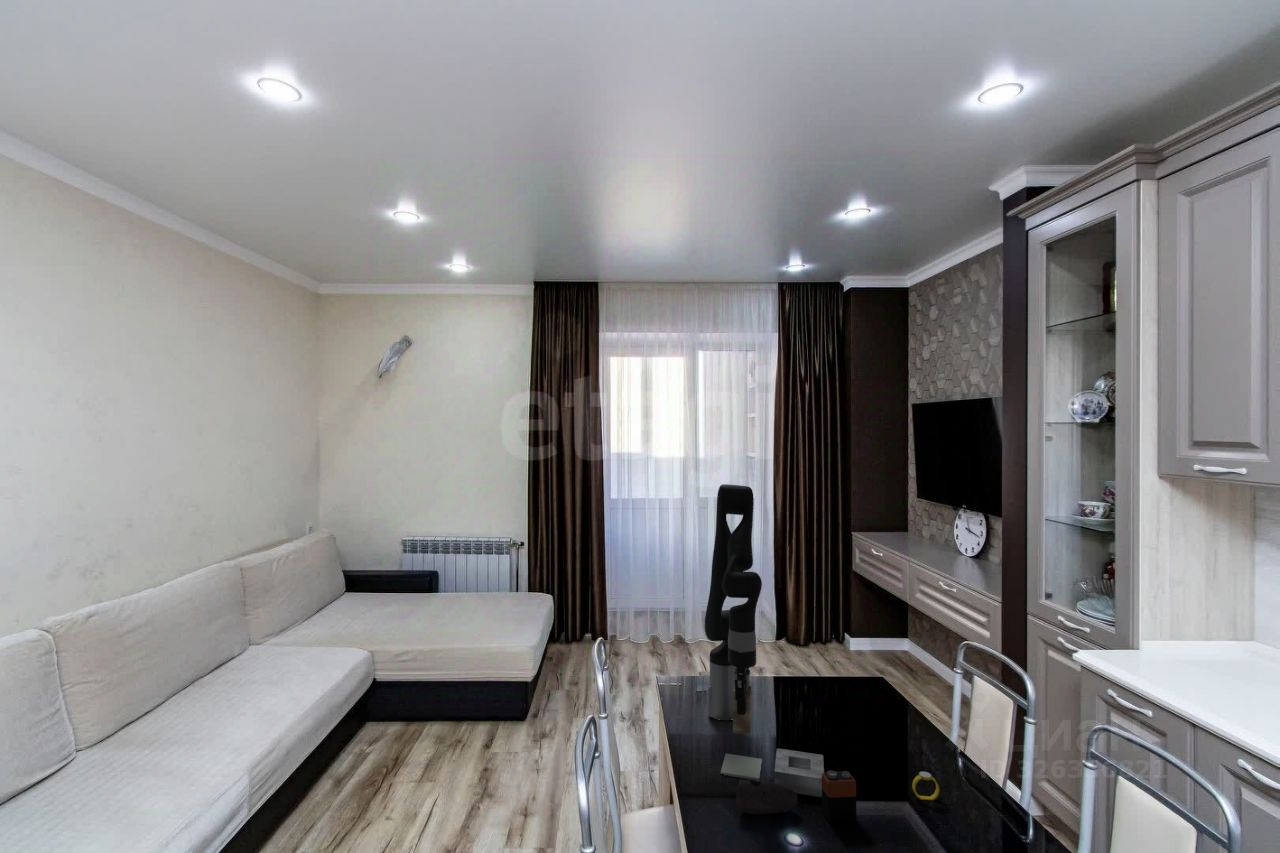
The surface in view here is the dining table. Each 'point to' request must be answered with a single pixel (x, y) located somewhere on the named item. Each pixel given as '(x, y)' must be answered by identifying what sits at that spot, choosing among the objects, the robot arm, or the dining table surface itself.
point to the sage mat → (741, 766)
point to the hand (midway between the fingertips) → (742, 710)
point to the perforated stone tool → (764, 797)
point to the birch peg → (742, 722)
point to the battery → (838, 796)
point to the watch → (926, 777)
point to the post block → (799, 771)
